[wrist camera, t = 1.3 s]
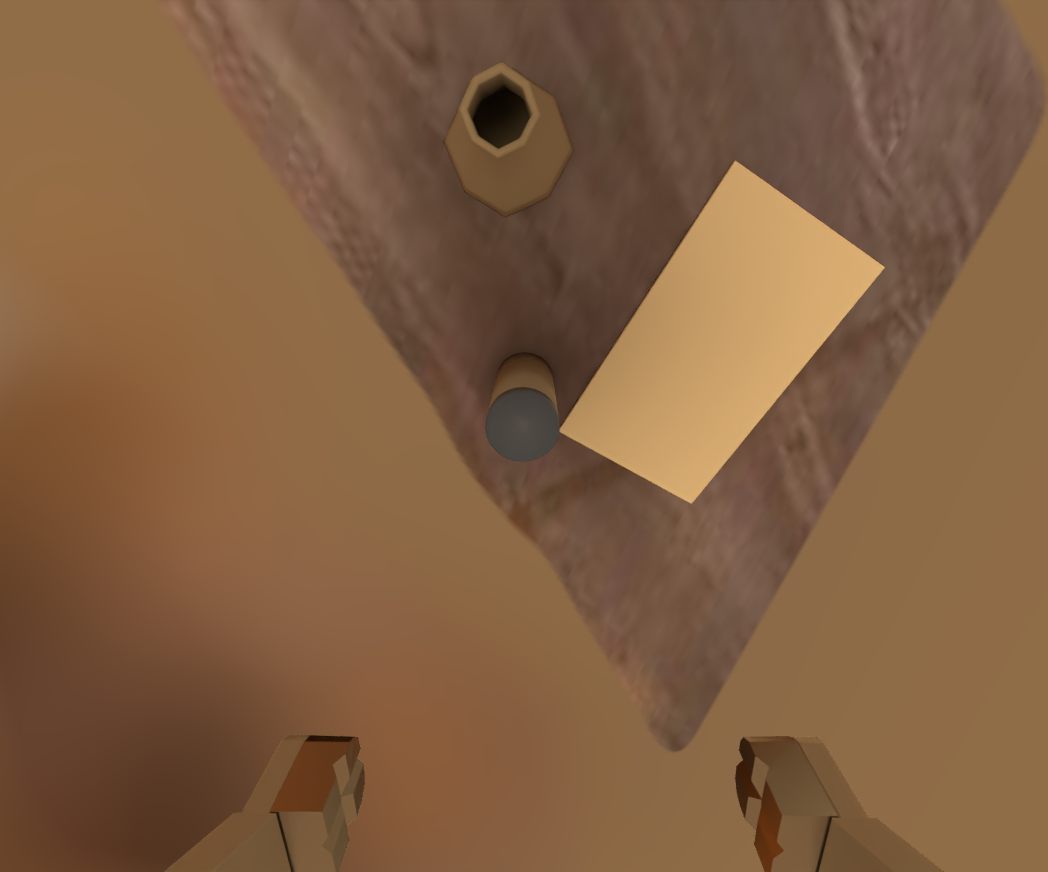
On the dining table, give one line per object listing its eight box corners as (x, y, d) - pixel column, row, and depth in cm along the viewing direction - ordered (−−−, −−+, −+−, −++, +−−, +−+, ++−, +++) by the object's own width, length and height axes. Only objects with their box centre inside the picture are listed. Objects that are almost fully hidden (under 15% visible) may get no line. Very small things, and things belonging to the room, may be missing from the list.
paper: (733, 161, 30) (735, 160, 29) (881, 267, 32) (884, 267, 32) (558, 429, 37) (558, 431, 36) (690, 501, 39) (691, 503, 39)
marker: (513, 342, 34) (508, 379, 26) (563, 370, 35) (573, 415, 27) (486, 390, 36) (472, 440, 27) (534, 416, 36) (535, 473, 28)
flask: (513, 41, 28) (505, -51, 18) (594, 152, 30) (623, 120, 21) (422, 140, 30) (374, 102, 20) (504, 239, 32) (494, 244, 22)
